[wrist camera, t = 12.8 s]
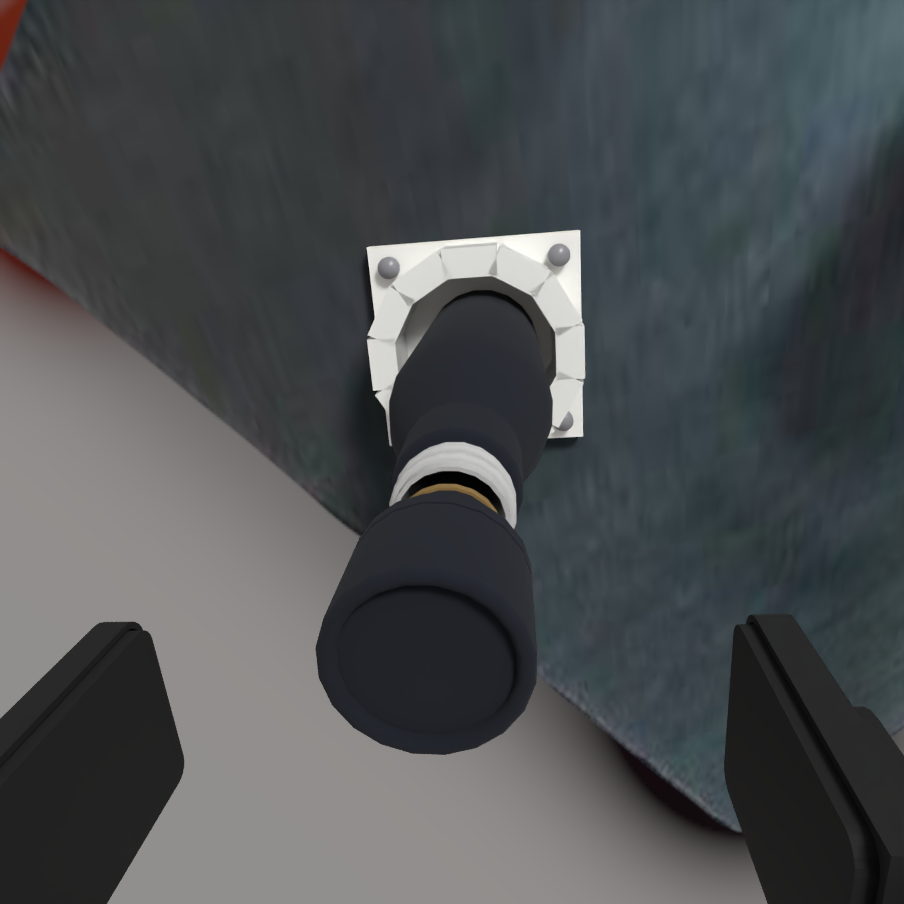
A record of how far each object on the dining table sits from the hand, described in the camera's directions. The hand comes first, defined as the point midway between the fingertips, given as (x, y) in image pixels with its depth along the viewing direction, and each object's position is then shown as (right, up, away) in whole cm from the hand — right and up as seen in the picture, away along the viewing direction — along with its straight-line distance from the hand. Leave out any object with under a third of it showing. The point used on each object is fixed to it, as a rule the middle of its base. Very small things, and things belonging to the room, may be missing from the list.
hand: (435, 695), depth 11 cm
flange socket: (+2, +11, +30) cm, 32 cm away
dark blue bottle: (+2, +10, +29) cm, 31 cm away
